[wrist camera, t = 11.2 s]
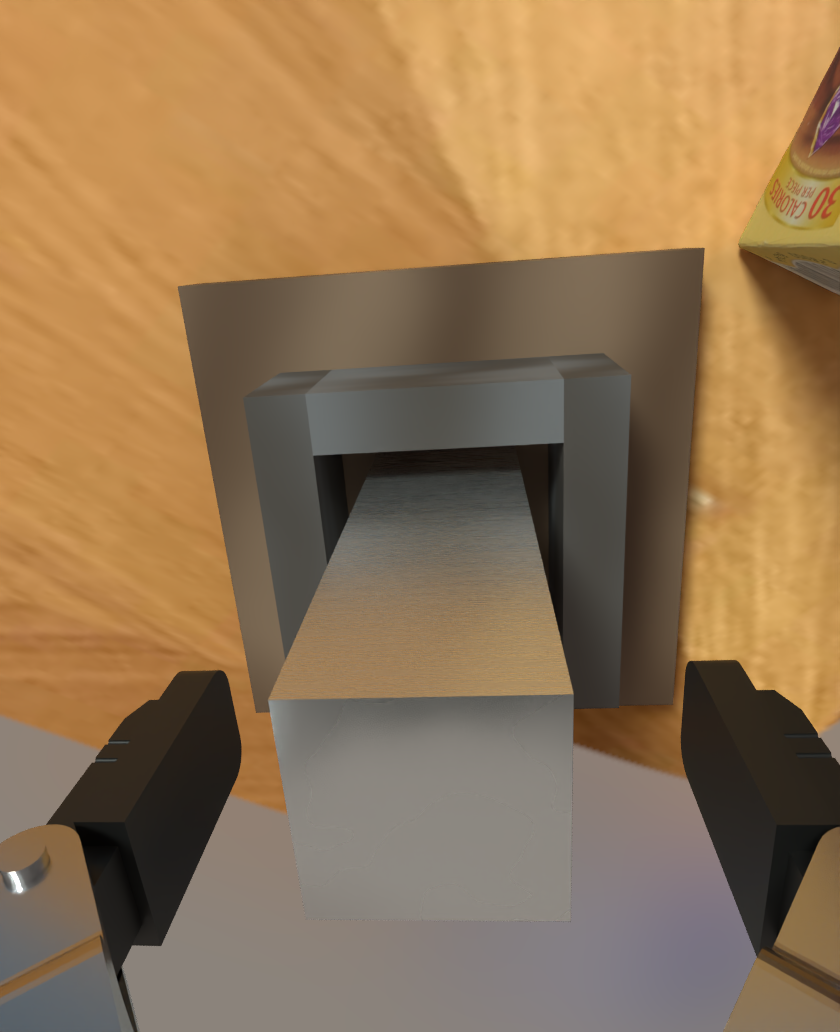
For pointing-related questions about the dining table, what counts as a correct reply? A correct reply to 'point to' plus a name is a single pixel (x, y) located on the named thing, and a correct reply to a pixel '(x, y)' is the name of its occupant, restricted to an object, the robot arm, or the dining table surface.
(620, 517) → the square peg hole frame
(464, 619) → the square grey peg
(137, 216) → the dining table surface
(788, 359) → the dining table surface
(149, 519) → the dining table surface
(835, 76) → the candy box
